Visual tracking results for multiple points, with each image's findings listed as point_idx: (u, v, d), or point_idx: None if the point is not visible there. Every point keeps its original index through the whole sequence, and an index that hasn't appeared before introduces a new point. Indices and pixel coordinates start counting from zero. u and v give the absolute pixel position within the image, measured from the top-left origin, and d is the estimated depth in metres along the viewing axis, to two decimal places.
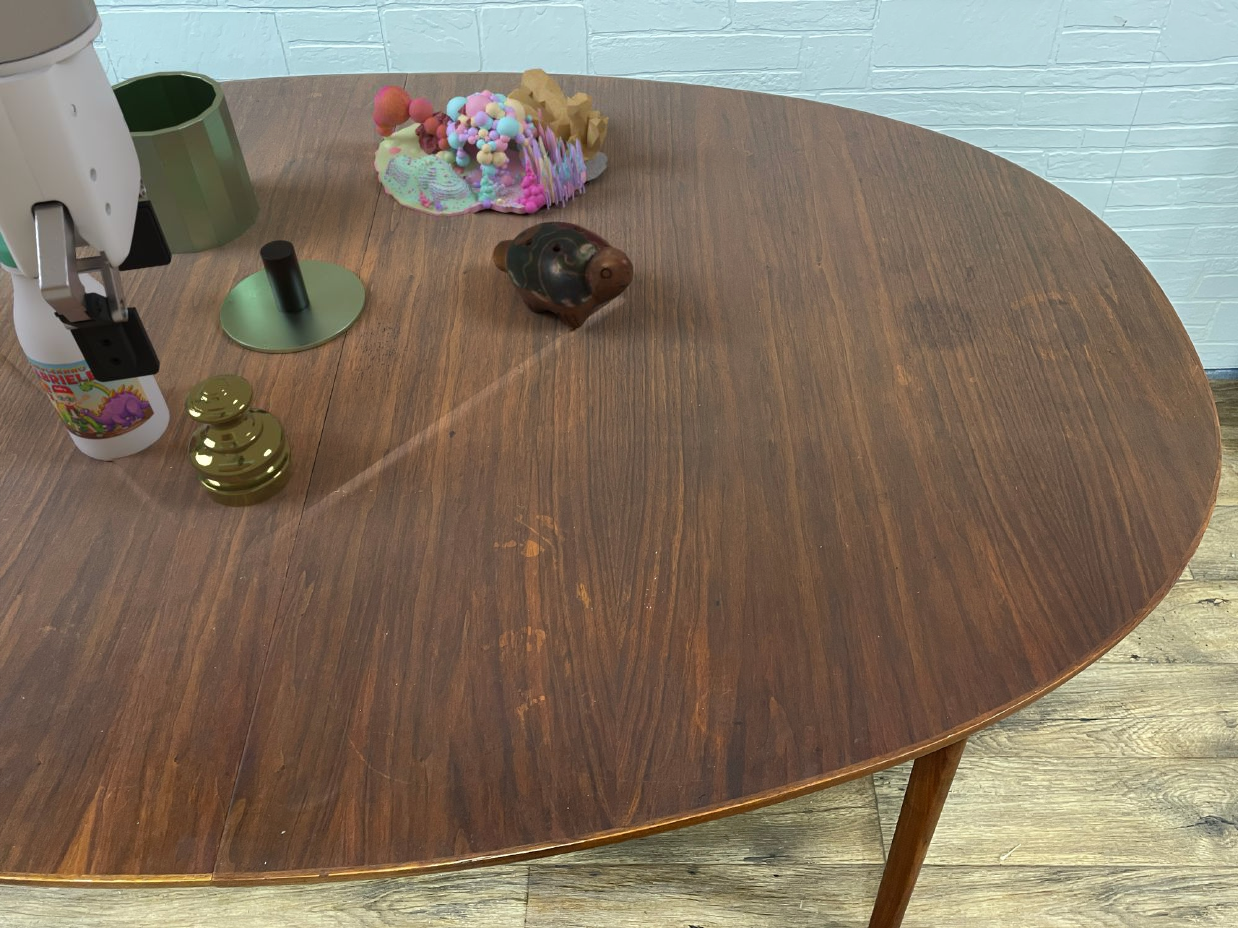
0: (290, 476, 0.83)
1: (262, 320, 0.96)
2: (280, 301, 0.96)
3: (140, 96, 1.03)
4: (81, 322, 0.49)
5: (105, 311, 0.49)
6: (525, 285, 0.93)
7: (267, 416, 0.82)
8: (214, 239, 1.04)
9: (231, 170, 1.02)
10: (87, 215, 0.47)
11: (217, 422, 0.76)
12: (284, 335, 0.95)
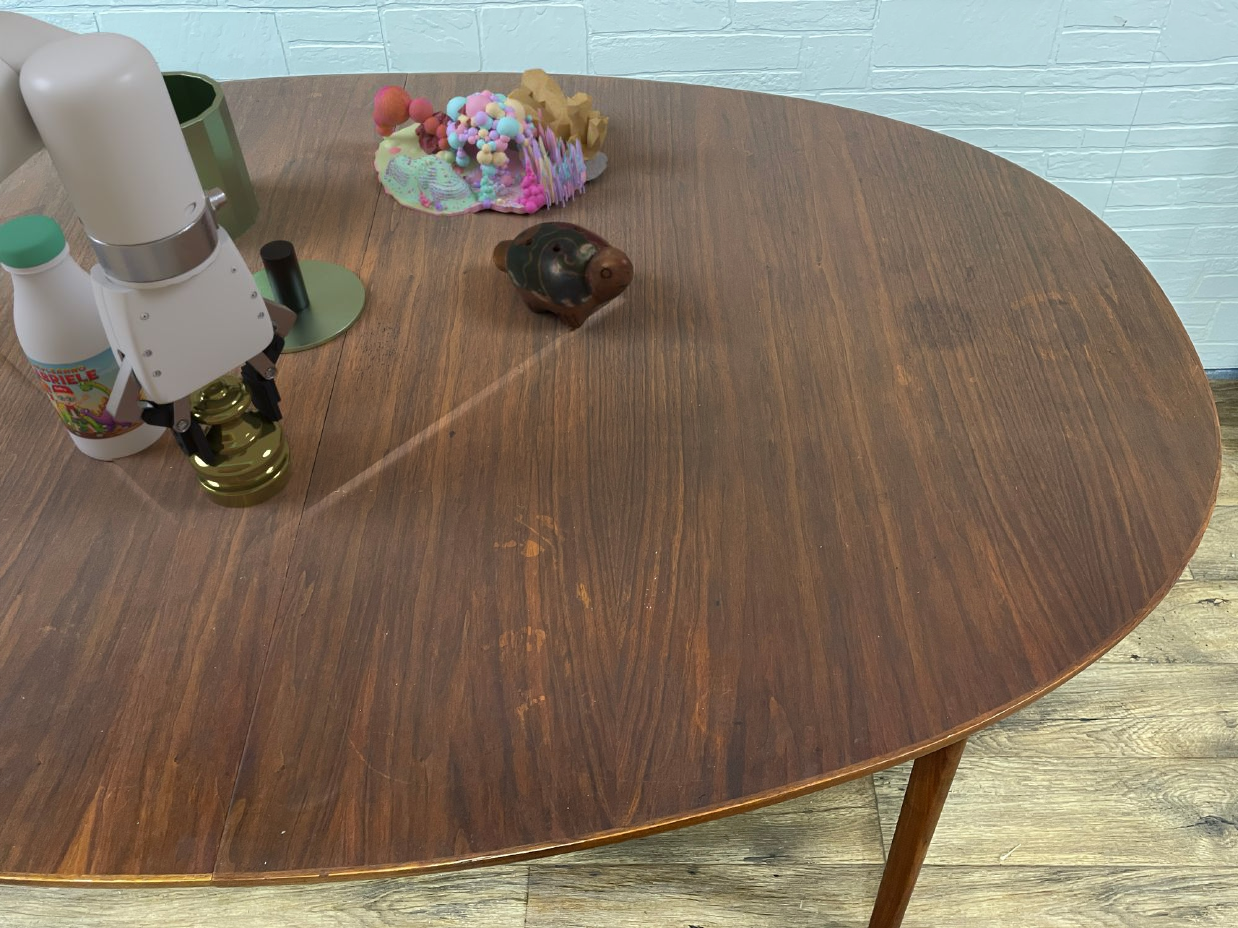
0: (289, 477, 0.83)
1: None
2: (280, 301, 0.96)
3: None
4: None
5: (165, 421, 0.74)
6: (525, 285, 0.93)
7: (266, 417, 0.82)
8: None
9: (231, 170, 1.02)
10: (138, 372, 0.70)
11: (215, 423, 0.76)
12: None
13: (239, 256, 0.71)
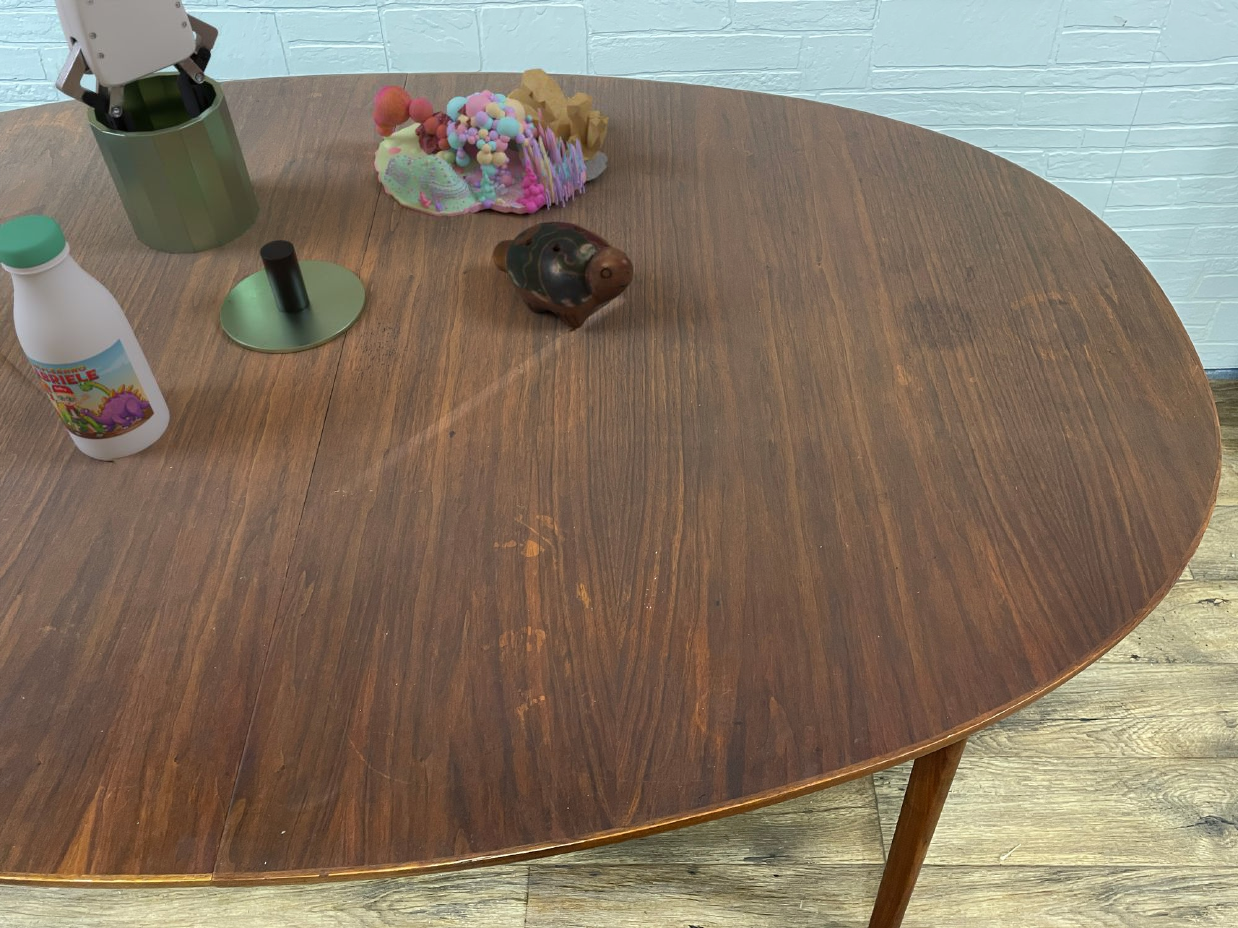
0: None
1: (262, 320, 0.96)
2: (280, 301, 0.96)
3: (140, 96, 1.03)
4: None
5: (102, 106, 0.95)
6: (525, 285, 0.93)
7: None
8: (214, 239, 1.04)
9: (231, 170, 1.02)
10: (86, 53, 0.91)
11: None
12: (284, 335, 0.95)
13: None
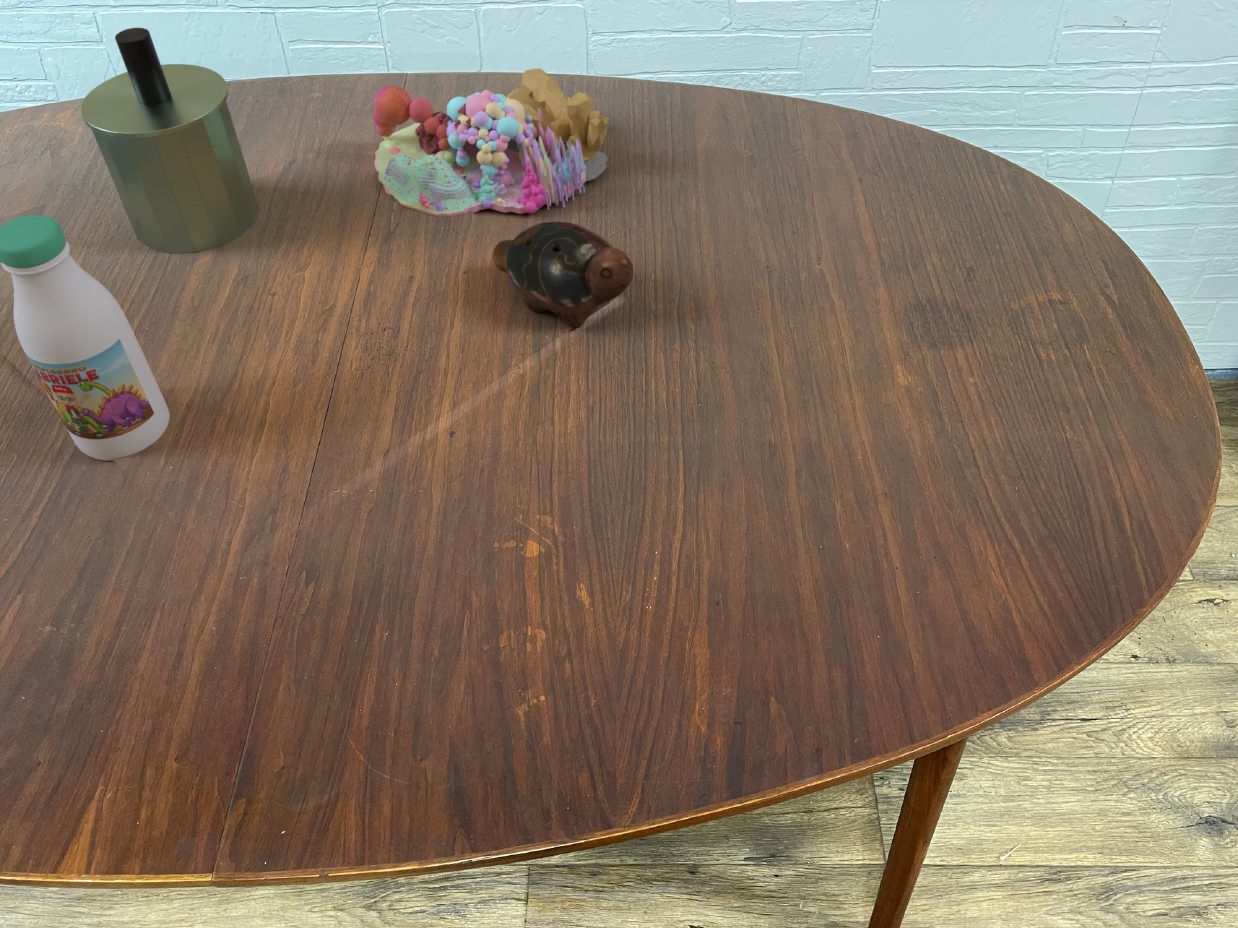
0: None
1: (121, 110, 0.97)
2: (139, 91, 0.97)
3: None
4: None
5: None
6: (525, 285, 0.93)
7: None
8: (214, 239, 1.04)
9: (231, 170, 1.02)
10: None
11: None
12: (141, 122, 0.96)
13: None
